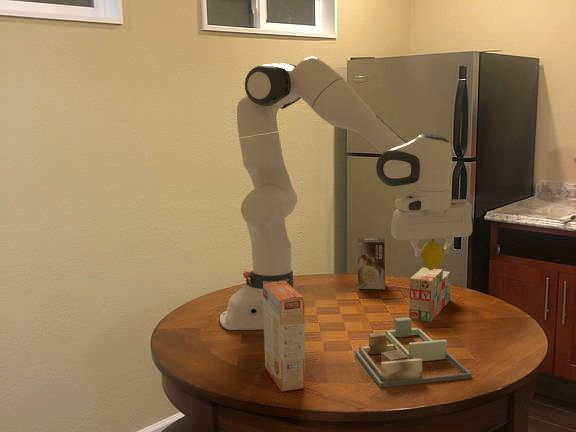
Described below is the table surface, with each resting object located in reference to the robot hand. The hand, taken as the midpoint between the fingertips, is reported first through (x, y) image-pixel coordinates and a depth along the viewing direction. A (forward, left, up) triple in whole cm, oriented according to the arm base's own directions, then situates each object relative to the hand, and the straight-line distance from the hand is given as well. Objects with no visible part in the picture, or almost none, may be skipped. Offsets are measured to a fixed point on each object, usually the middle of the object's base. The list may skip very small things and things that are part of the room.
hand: (431, 255), depth 158 cm
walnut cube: (-15, -15, -23) cm, 31 cm away
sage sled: (-5, -2, -23) cm, 23 cm away
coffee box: (+1, +51, -23) cm, 56 cm away
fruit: (0, -1, -4) cm, 4 cm away
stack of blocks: (+11, +25, -23) cm, 36 cm away
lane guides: (-10, -12, -23) cm, 28 cm away
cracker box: (-40, -12, -23) cm, 48 cm away
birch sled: (-15, -11, -23) cm, 29 cm away
